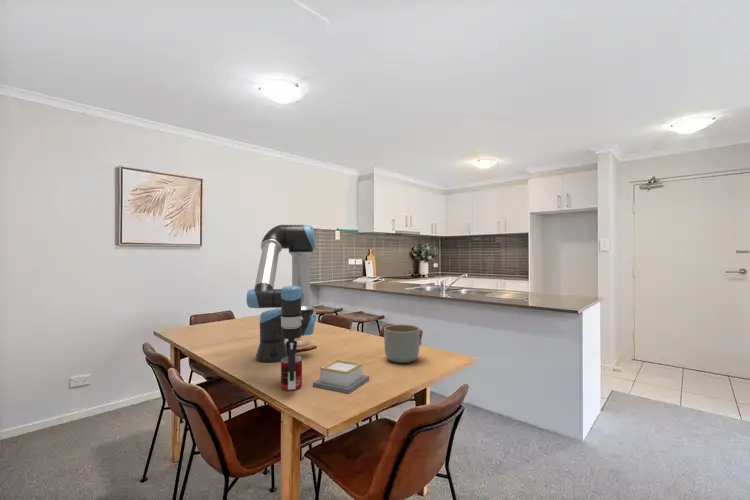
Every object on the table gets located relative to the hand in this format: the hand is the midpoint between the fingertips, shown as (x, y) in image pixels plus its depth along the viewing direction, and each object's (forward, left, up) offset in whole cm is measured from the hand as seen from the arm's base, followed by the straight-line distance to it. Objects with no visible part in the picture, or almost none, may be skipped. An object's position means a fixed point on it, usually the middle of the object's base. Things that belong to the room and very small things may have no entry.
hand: (291, 382), depth 139 cm
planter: (+25, +50, -2) cm, 56 cm away
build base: (+15, +12, -2) cm, 19 cm away
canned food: (0, 0, -2) cm, 2 cm away
